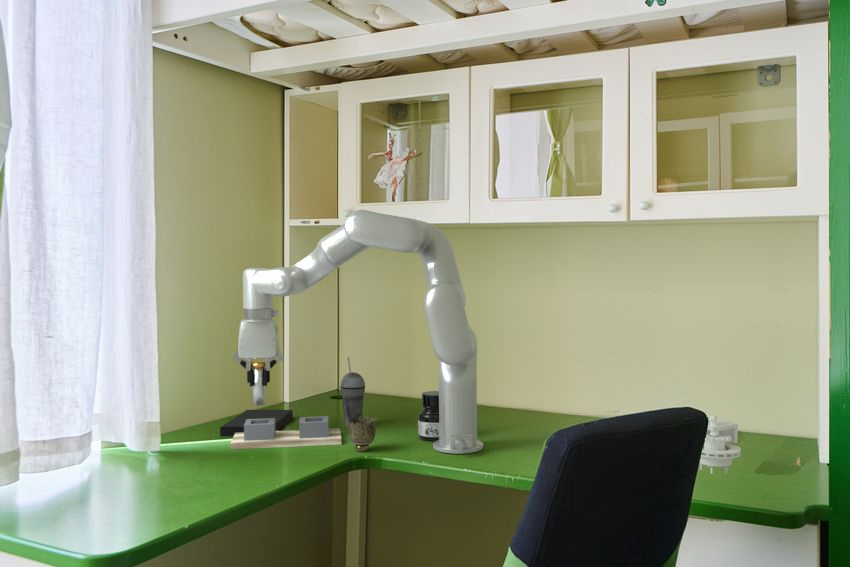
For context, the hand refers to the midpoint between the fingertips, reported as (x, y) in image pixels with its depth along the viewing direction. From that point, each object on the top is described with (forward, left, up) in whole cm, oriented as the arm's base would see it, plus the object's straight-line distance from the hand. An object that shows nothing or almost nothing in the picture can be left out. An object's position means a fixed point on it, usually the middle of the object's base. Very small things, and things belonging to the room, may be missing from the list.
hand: (258, 384), depth 201 cm
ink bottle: (-3, -46, -16) cm, 49 cm away
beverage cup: (+14, -25, -16) cm, 33 cm away
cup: (-13, -26, -16) cm, 33 cm away
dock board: (0, -7, -15) cm, 17 cm away
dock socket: (0, 0, -14) cm, 14 cm away
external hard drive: (+19, +2, -16) cm, 25 cm away
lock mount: (0, -14, -14) cm, 20 cm away
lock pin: (0, 0, -5) cm, 5 cm away
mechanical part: (-44, -103, -16) cm, 113 cm away
